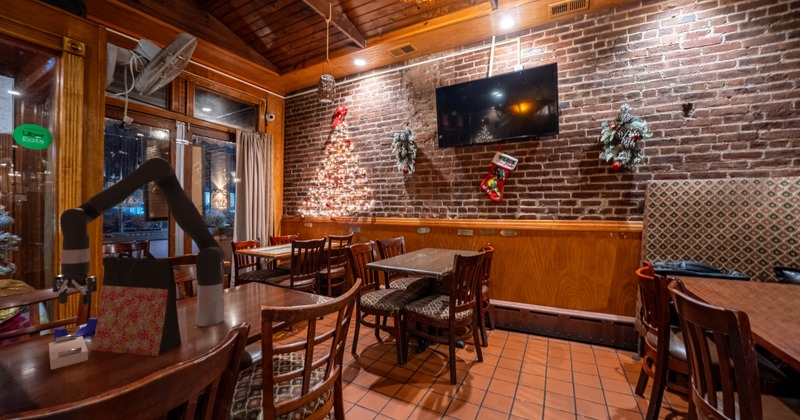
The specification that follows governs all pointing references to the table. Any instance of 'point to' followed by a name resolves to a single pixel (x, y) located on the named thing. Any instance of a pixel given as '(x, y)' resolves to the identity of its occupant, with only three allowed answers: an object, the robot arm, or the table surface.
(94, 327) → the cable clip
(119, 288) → the gift bag
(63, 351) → the white slotted block
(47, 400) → the table surface
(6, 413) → the table surface
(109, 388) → the table surface
